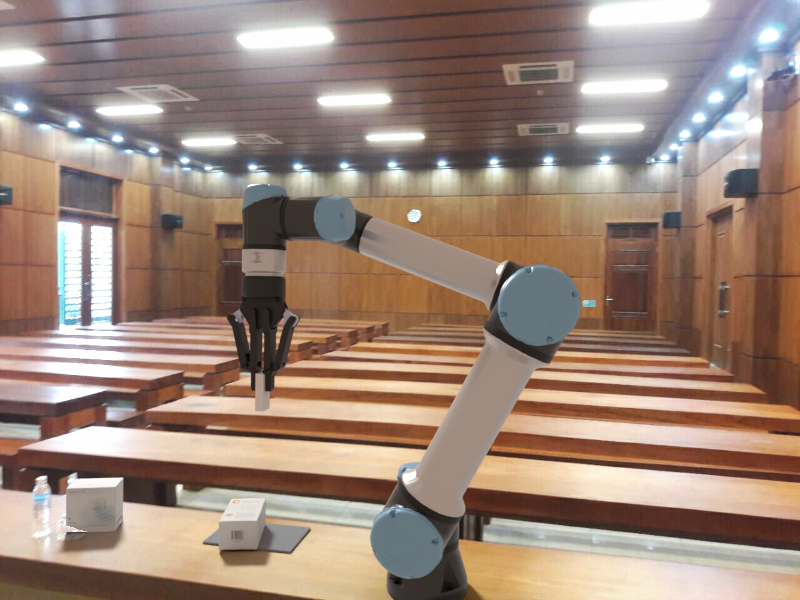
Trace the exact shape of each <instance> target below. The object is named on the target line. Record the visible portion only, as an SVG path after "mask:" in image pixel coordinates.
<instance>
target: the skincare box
mask: <svg viewBox="0 0 800 600" xmlns="http://www.w3.org/2000/svg"><path fill="white" fill-rule="evenodd" d="M65 492H66V493H65V495H66V497H65V500H66V502H65V506H66V507H65V511H66V512H65V518H66V519H65V527H66V526H70V527H74V528H76V529H78V530H83V531H87V533H104V532H105V533H108V532H109V533H110V532H116V531H117V530H118V528H119V526H121V524H122V523H123V522H124V514H123V513H124V477H99V478H98V477H97V478H96V477H95V478H92V477H91V478H75V480H73V481H72V482H71V483H70V484H69V485H68V486H67V487H66V491H65Z"/></svg>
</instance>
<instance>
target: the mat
mask: <svg viewBox="0 0 800 600" xmlns="http://www.w3.org/2000/svg"><path fill="white" fill-rule="evenodd" d="M308 531H311V527H307V526H301V525H290V524H288V525H287V524H279V523H270V522H265V527H264V530H263V533H262V536H261V539H260V542H259V545H258V548H257V549H256V550H257V551H266V552H268V551H269V552H275V553H282V554H283V553H284V554H285V553H286V554H291V553H292V552H293V551H294V550H295V548H296V547H297V546H298V545H299V544H300V543H301V541H302V540H303V539H304V538H305V536H306V535H307V534H308V533H309V532H308ZM202 544H203V545H204V544H205V545H211V546H212V545H213V546H219V528H218V529H216V530H215V531H214V532H213V533H211V535H209V536H208V537H206V538H205V539H204V540H203V541H202Z"/></svg>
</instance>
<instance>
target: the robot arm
mask: <svg viewBox="0 0 800 600" xmlns="http://www.w3.org/2000/svg"><path fill="white" fill-rule="evenodd" d="M242 196H243V197H242V207H241V214H242V216H241V218H242V247H241V248H242V249H241V272H242V273H244V274H245V275H243V276H242V277H241V303H240V305H239V306H238V308H239V309H238V310H236V311H235V312H233V313H229V314H227V315H226V320H227V321H228V323H229V324H230V327H231V329H232V334H233V337H234V338H233V339H234V343H235V348H236V353H237V356H238V362H239V366H240V369H245V370H247V371H248V372H249V373H250V389H251V391H252V392H253V391H254V395H255V396H254V411H255V412H265V411H267V410H269V409H270V404H271V403H270V402H271V401H270V400H271V398H270V396H271V392H273V391H274V390H275V386H276V385H275V378H276V377H275V375H276V373H277V371H280V370H283V369H285V368H286V365H287V362H288V361H287V360H288V358H289V357H288V356H289V353H290V352H289V351H290V348H291V344H292V341H293V337H294V333H295V328H296V327H297V326H298V324H299V323H300V321H301V317H300V315H298V314H296V315H295V314H294V313H292V311H290V310H288V309H289V307H288V304H287V302H286V298H287V297H286V295H287V290H286V288H287V279H286V277H285V276H283V275H284V274H286V273H287V241H289V242H290V241H291V242H295V241H297V242H299V241H300V242H302V241H303V242H321V243H325V244H330V245H336V246H338V247H341V248H344V249H346V250H349V251H352V252H354V253H357V254H360V255H363V256H365V257H368V258H370V259H372V260H375V261H377V262H380V263H383V264H385V265H388V266H391V267H394V268H396V269H399V270H401V271H403V272H406V273H409V274H411V275H413V276H416V277H418V278H421V279H424V280H426V281H428V282H431V283H434V284H436V285H439V286H442V287H444V288H447V289H450V290H451V291H454V292H457V293H459V294H462V295H464V296H467V297H470V298H472V299H474V300H477V301H480V302H482V303H483V304H485V307H486V310H487V311H491V313H489V316H488V318H486V319H487V320H486V322H485V323H484V325H483V326H482V332H483V336H484V340H485V343H484V345H483V347H482V349H481V351H480V352H479V354H478V356H477V358H476V359H475V361H474V363H473V365H472V367H471V369H470V370H469V372H468V374H467V375H466V377H465V379H464V382H463V383H462V384H461V387H460V389H459V391H458V392H457V394H456V396H455V398H454V399H453V401H452V403H451V404H450V407H449V408H448V410H447V412H446V414H445V416H444V418H443V419H442V421H441V423H440V425H439V426H438V428H437V430H436V431H435V434H434V436H433V438H432V439H431V440H430V443H429V445H428V446H427V448H426V450H425V452H424V454H423V456H422V457H421V459H420V461H418V462H417V461H415V462H414V461H413V462H412V461H411V462H406V463H404V464H403V463H402V465H400V466H399V467H398V471H397V476H396V479H397V484H396V485H395V487H394V489H393V490H392V492H391V494H390V496H389V498H388V500H387V501H386V504H385V505H384V507H383V508H382V511H380V512H379V513H378V514H377V515H376V516H375V518H374V520H373V523H372V526H371V528H370V529H371V530H370V537H369V539H370V540H369V541H370V547H371V550H372V552H373V555H374V557H375V559H376V560H377V562H378V563H379V565H381V566H382V568H384V569H385V570H386V571H387V572H386V573H387V574H386V590H387V592H388V594H389V595H390V596H391V597H392V598H393V599H395V600H463V599H464V598H465V597H466V595H467V593H468V574H467V571H466V568H465V564H464V561H463V558H462V554H461V550H460V547H459V545H460V539H459V538H460V521H461V520H462V518H463V516H464V515H465V513H466V505H465V501H464V498H463V497H464V495H465V493H466V492H467V489H468V487H469V486H470V484H471V482H472V481H473V479H474V477H475V475H476V473H477V472H478V470H479V468H480V466H481V465H482V464H483V461H484V459H485V457H486V456H487V455H488V453H489V450H491V447H492V445H493V444H494V442H495V440H496V438H497V436H498V435H499V433H500V432H501V430H502V428H503V426H504V424H505V423H506V421H507V419H508V417H509V415H510V414H511V412H512V411H513V409H514V407H515V405H516V403H517V402H518V400H519V398H520V396H521V394H522V392H523V391H524V390H525V387H526V385H528V382H529V380H530V378H531V377H532V375H533V373H534V372H535V370H537V369H540V368H544V367H549V366H550V364H551V362H552V360H553V359H554V357H555V355H556V353H557V352H558V350H559V348H560V347H561V345H562V343H563V342H564V339H565V338H566V337H567V336H569V334H570V333H571V332H572V331H573V330H574V328H575V327H576V325H577V324H578V321H579V319H580V315H581V309H582V308H581V307H582V299H581V294H580V291H579V288H578V287H577V285H576V283H575V281H574V280H573V279H572V278H571V277H570V276H569V275H568V273H566V272H564V271H562V270H561V269H560V268H557V267H555V266H552V265H550V264H544V263H541V264H539V263H536V264H530V265H529V264H528V265H524V264H520V263H517V262H514V261H511V260H509V259H507V260H504V261H502V262H498V261H495V260H492V259H489V258H487V257H484V256H481V255H479V254H476V253H473V252H471V251H468V250H465V249H463V248H460V247H458V246H455V245H452V244H449V243H446V242H443V241H440V240H438V239H436V238H433V237H430V236H427V235H424V234H423V233H420V232H416V231H415V230H411V229H408V228H406V227H403V226H400V225H397V224H395V223H392V222H389V221H387V220H384V219H381V218H379V217H375V216H373V215H370V214H368V213H365V212H363V211H361V210H359V209H356V208H355V206H354V204H353V202H352V200H351V199H350V198H349V197H347V196H343V195H342V196H341V195H340V196H338V195H332V194H328V195H322V196H321V195H320V196H319V195H318V196H316V195H315V196H288V191H287V189H286V188H285V187H284V186H282V185H278V184H274V183H273V184H270V183H266V184H265V183H254V184H249V185H247V186H245V188H244V189H243V194H242ZM282 320H283V327H282V330H281V333H280V339H279V342H278V345H277V333H278V325H279V324H280V322H281V321H282ZM244 321H246V323H247V324H248V333H249V340H248V335H247V330H246V326H245V323H244ZM277 346H278V348H277Z"/></svg>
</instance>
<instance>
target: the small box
mask: <svg viewBox="0 0 800 600" xmlns="http://www.w3.org/2000/svg"><path fill="white" fill-rule="evenodd" d="M266 506H267V499H266V497H264V498H263V497H262V498H259V497H257V498H256V497H255V498H254V497H245V498H231V499H230V501H229V502H228V504H227V506H226V508H225V510H224V511H223V513H222V515H221V517H220V519H219V520H218V529H219V545H218V551H229V550H231V551H233V550H256V549H257V548H258V545H259V542H260V539H261V536H262V533H263V530H264V527H265V523H266V517H267V516H266V511H267V509H266Z"/></svg>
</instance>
